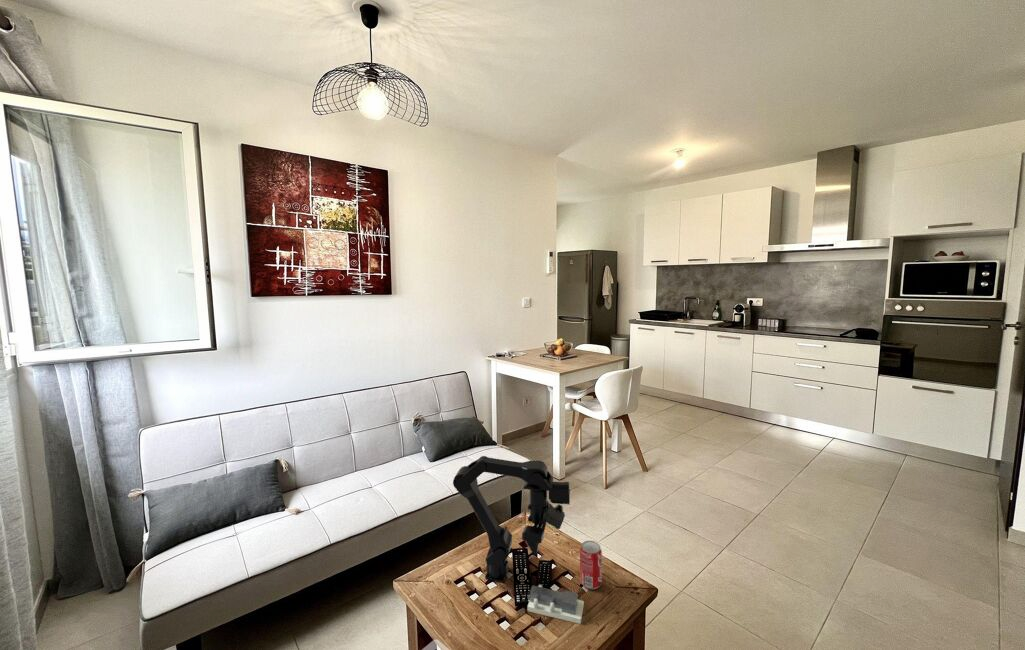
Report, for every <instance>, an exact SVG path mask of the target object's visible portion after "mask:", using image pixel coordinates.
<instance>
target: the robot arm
mask: <svg viewBox="0 0 1025 650" xmlns="http://www.w3.org/2000/svg"><path fill="white" fill-rule="evenodd" d="M484 473H488V474H495V475H501V476H507V477H513V478H517V479H520V480H522V481H524V484H523V487H522V488H523V490H529V503H528V505H527V509H528V510H529V516H528V518H527V522H531V523H532V524H533V526H532V525H529V524H528V525H526V526H525V527H524V529H523V530H522V533H521V539H522V541H524V542H526V544H527V545H528V547H529V548H530V551H531V552H532V554H533V555H536V556H537V555H538V554H537V553H538V550H539V544H542V542H543V540H544V535H545V531H546V525H547V524H548V525H549V526H552V527H553V528H555V529H556V530H560V529H561V527H562V525H563V523H564V519H565V517H566V515H565V511H564V507H563V505H567V506H569V505H570V503H571V502H570V500H571V499H570V498H571V497H570V494H571V488H570V482H569V481H554V476H553V475H552V474H551V472H550V471H549V470H548V466H547V464H546V463H545V462H544V461H542V460H528V461H523V462H522V461H521V462H520V461H512V460H507V459H500V458H493V457H488V456H487V455H482V456H480V457H479V458H478V459H475V460H474V461H472V462H471V463H469V464H467V465H464V466H461V467H460V468H459V469H458V471H457V473H456V474H455V476H454V477H453V481H452V485H453V487H454V488H455V489H456V491H457V492H458V493H459V495H461V496H462V497H464V498H465V499H466V500H468V501H467V502H468V503H469V505H470V506H471V509H472V510H473V512H474V513H475V515H476V516H477V518H478V521H479V522H480V524H481V525H482V527H483V529H484V531H485V532H486V533H485V534H487V538H488V544H489V547H488V551H487V553H486V557H485V562H486V573H485V576H484V578H485V579H487V580H491V581H493V582H494V581H495V582H499V583H503V582H504V581H505V579H506V577H508V574H509V560H508V558H509V555H510V552H511V548H512V545H513V534H512V533H511V532H510V530H509V528H508V526H507V525H506V526H504V527H502V526H501V525H500V524H499V523H498V521H497V519H496V518H495V516H494V513H492V510H491V508H490V506H489V505H488V503H487V501H486V500H485V498H484V496H483V495H482V493H481V491H480V489H479V484H478V478H479V476H481V475H482V474H484ZM548 500H549V501H550V502H549V501H548ZM551 503H552V504H555V506H553V505H552V504H551ZM556 504H557V505H556Z"/></svg>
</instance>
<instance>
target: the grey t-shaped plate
mask: <svg viewBox="0 0 1025 650" xmlns="http://www.w3.org/2000/svg"><path fill="white" fill-rule="evenodd" d="M563 591H564V592H563ZM563 591H560V590H558V591H555V590H554V589H550V588H545V587H543V586H542V587H539V586H537V585H531V588H530V590H529V601H530V602H534V599H535V598H536V599H538V604H543V605H547V606H550V603H551V602H553V603H554V607H556V608H560V609H562V612H565V613H569V614H574V615H575V613H576V608H577V603H578V600H579V599H578V597H579V596H578V595H579V593H578V592H575V591H571V590H570V591H569V590H566V589H564V590H563Z"/></svg>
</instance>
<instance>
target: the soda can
mask: <svg viewBox="0 0 1025 650" xmlns="http://www.w3.org/2000/svg"><path fill="white" fill-rule="evenodd" d="M579 581H580V583H581V585H582V586H583V587H584V588H586V589H587V590H591V591H592V590H597V589H598V588H600V587H601V586H602V584H603V583H602V582H603V550H602V549H601V545H600V544H599V543H598V542H596V541H594V540H585V541H583V542H582V543H581V547H580V549H579Z"/></svg>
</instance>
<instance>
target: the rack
mask: <svg viewBox="0 0 1025 650" xmlns="http://www.w3.org/2000/svg"><path fill="white" fill-rule="evenodd" d="M538 587H542V588H543V585H542V584H538ZM553 590H555V591H559V589H558V587H557V588H556V587H555V588H553ZM528 601H529V602H528V604H527V606H526V607H527V612H530V613H535V614H538V615H541V616H546V617H551V618H554V619H559V620H562V621H566V622H567V621H568V622H572V623H575V624H579V625H581V623H582V617H583V611H584V606H585V605H584V603H585V601H584V600H580V599H578V603H577V608H576V613H575V615H574V614H569V613H565V612H562V609H560V608H556V607H554V603H553V602H551V603H550V606H547V605H543V604H538V599H536V598H535V599H534V602H530V600H528Z"/></svg>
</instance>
